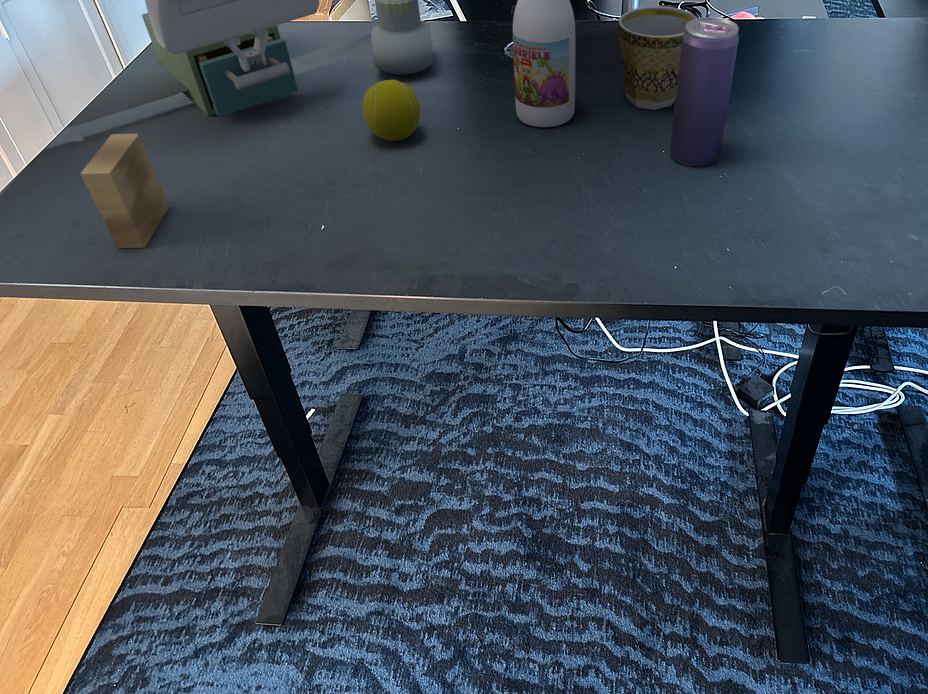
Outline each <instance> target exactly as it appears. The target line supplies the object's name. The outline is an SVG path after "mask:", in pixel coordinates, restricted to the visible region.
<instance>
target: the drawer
mask: <svg viewBox="0 0 928 694" xmlns="http://www.w3.org/2000/svg"><path fill="white" fill-rule="evenodd" d="M268 36H269V35H268ZM254 43H255V38H254V39H250V40H247V41H243V42H241V44H240V45H237V47H238V48H239V49H240V50H241V51H242V52H247V51H250V50H253V48H254ZM264 54H265V58H266V61H267V65H266V66H263V67H260V68H257V69H253V70H250V71H247V72H245V71H244V70H243V69H242V68H241V66H240V62H239V59H238V56H237V55H236V54H235V53H234V52H233V51H232V50H231V49H230V48H229V47H228V46H226V47H223V48H219V49H216V50H213V51H209V52H206V53H202V54H199V55H196V56H194V59H195V62H196V64H197V67H198V70H199V73H200V76H201V79H202V82H203V85H204V88H205V91H206V93H207V96H208V99H209V100H210V101H211V102H212V103H213V106H214V109H215V112H216V114H215V115H217V116H218V117H219V118H221V117H224V116H227V115H230V114H233V113H236V112H240V111H243V110H245V109H249V108H251V107H254V106H258V105H260V104H264V103H266V102H269V101H273V100H275V99H279V98H281V97H285V96H288V95H291V94H294V93H296V92H299V88H298V85H297V81H296V76H295V72H294V69H293V65H292V61H291V57H290V53H289V49H288V46H287V41H286V40H285V39H284V38H282V37H280V39H277V40H274V41H273V38H272V37H270V36H269V37H268V41H267V45H266V49H265V52H264Z"/></svg>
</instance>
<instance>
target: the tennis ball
mask: <svg viewBox="0 0 928 694" xmlns="http://www.w3.org/2000/svg"><path fill="white" fill-rule="evenodd" d="M362 113H363V118H364V121H365V123H366V125H367V127H368V128H369V130H370V131H371V132H372V133H373V134H374V135H375V136H376V137H378V138H379V139H382V140H385V141H389V142H399V141H402V140H405V139H407V138H408V137H410V136H412V134H414V132H416V129H418V126H419V123H420V119H421V106H420V102H419V99H418V97H417V95H416V94H415V91H414V90H413V89H412V88H411V87H410V86H409V85H408V84H406V83H405V82H401V81H400V80H397V79H386V80H381V81H378V82H375V83H374V84H373V85H372V86H371V87H369V88H368V89H367V90H366V93H365V95H364V97H363V102H362Z"/></svg>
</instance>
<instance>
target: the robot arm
mask: <svg viewBox="0 0 928 694" xmlns="http://www.w3.org/2000/svg"><path fill="white" fill-rule="evenodd" d="M144 2H145V7H146V11H147V13H148V15H149V19H150V22H151V26H152V29H153V32H154V35H155V37H156V39H157V41H158V43H159V44H160V45H161V46H162V47H163V48H164V49H166V50H167V51H169V52H171V53H173V54H179V53H183V52H186V51H190V50H193V49H196V48H200V47H203V46H207V45H210V44H214V43H217V42H220V41H224V43H225V44H226V45H227V46H228V47H229V48H230V49H231V50H232V51H233V52H234V53H235V54H236V55H237V56H238V59H239V62H240V66H241V68H242V69H243V70H244V71H245V72H247V71H250V70H253V69H257V68H260V67H263V66H266V65H267V61H266V58H265V54H264V52H265V49H266V45H267V41H268V37H269V36H268V32H267V28H268V27H272V26H275V25H277V26H278V25H282V24H285V23H289V22H292V21H296V20H298V19H303V18H305V17H308V16H312V15H316V14H317V12H318V10H319V7H320V0H144ZM248 33H251V34H253V35H254V36H256V37H255V43H254V48H253V50H250V51H247V52H242V51H241V50H240V49H239V48H238V47H237V45H240V44H241V42H240V39H239V36H241V35H244V34H248Z"/></svg>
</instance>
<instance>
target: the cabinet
mask: <svg viewBox="0 0 928 694" xmlns="http://www.w3.org/2000/svg"><path fill="white" fill-rule="evenodd" d="M141 17H142V21H143V22H144V26H145V28H146V30H147V33H148V36H149V38H150V41H151V43H152V47H153V49H154V53H155V55H156V57H157V59H158V62H159V65H161V66H162V67H163V69H165V70H166V71H168V72H169V73H170V74H171V75H172V76H173V77H174V78H175V79H176V80H177V81H179V82H180V84H181V85H183V86H184V87H185V88H186V89H187V90H184V91H182V94H183V95H185V97H187V98H188V99H189V100H190V101H191V102H192V103H193V104H195V106H196V107H197V108H199V109H200V110H201V112H203V113H204V114H205V115H207V116H208V117H211V116H213V115H217V114H216V112H215V109H214V106H213V103H212V102H211V101H210V100H209V99H208V96H207V93H206V91H205V88H204V85H203V82H202V79H201V76H200V73H199V70H198V67H197V64H196V62H195V59H194V56H196V55H199V54H202V53H206V52H209V51H213V50H216V49H219V48H223V47H226V46H227V45H226V44H225V43H224V41H220V42H217V43H214V44H210V45H207V46H203V47H200V48H196V49H193V50H190V51H186V52H183V53H179V54H173V53H171V52H169V51H167V50H166V49H164V48H163V47H162V46H161V45H160V44H159V43H158V41H157V39H156V37H155V35H154V32H153V29H152V26H151V22H150V19H149V15H148V12H146V13H142V14H141ZM267 32H268V35H269V36H270V37H272V38H273V41H274V40H277V39H280V38H281V34H280V30H279V26H278V25H275V26H272V27H268V28H267ZM255 37H256V36H254V35H253V34H251V33H248V34H244V35H241V36H239V39H240V42H243V41H247V40H250V39H254V38H255Z"/></svg>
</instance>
